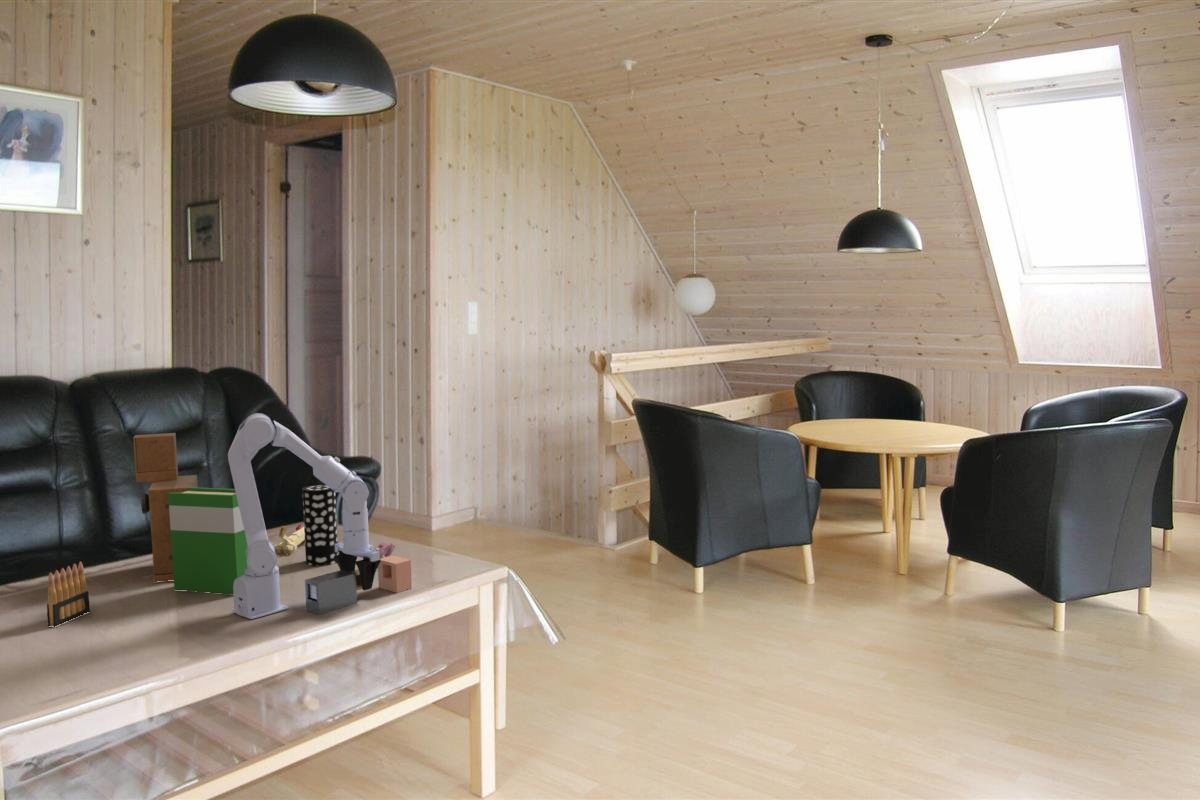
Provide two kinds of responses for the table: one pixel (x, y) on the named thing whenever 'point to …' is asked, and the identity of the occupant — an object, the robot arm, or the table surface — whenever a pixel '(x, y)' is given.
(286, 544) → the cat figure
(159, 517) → the brown stacked box shape
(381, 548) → the video game controller
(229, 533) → the hardback book
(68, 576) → the ammunition clip
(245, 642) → the table surface
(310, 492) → the white-spotted black cylinder
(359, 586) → the tube
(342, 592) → the outer sleeve
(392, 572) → the socket block
